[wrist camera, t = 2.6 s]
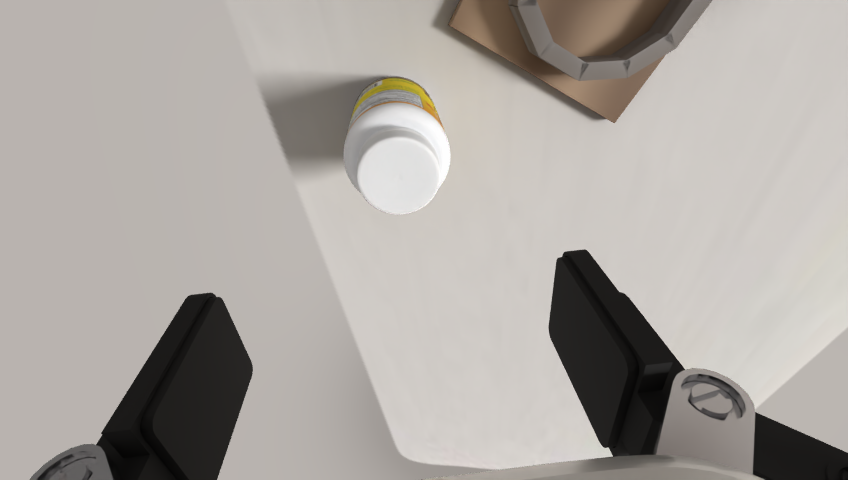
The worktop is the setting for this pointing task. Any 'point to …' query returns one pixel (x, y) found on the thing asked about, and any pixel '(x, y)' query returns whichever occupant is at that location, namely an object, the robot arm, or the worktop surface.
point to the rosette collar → (582, 42)
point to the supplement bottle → (396, 146)
